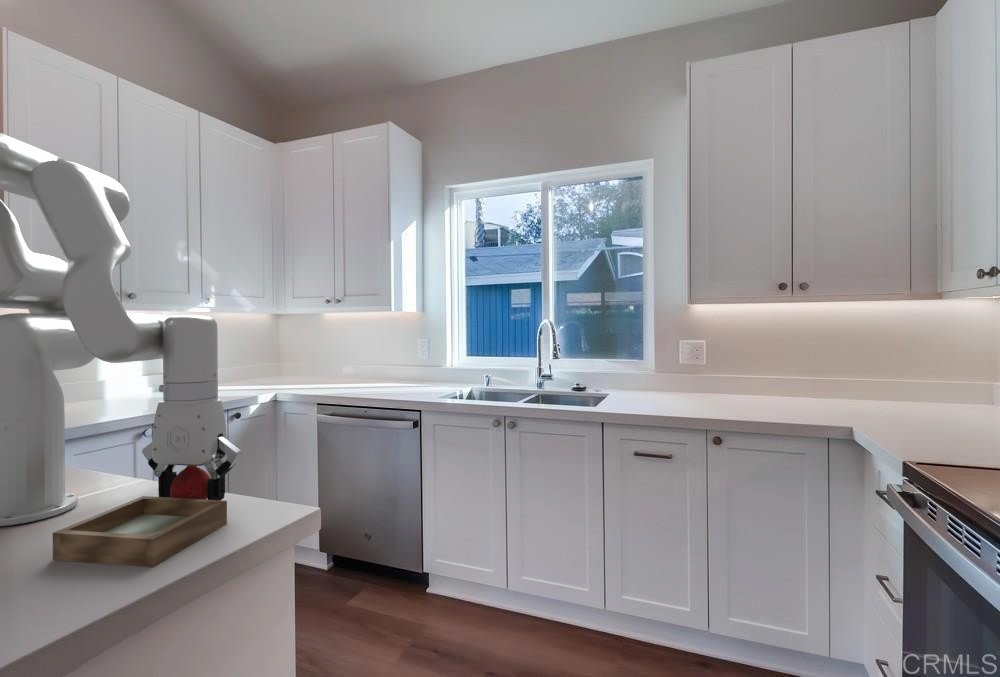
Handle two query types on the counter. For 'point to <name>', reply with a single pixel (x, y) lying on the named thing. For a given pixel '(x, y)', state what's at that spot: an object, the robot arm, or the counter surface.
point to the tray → (140, 531)
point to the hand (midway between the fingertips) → (191, 499)
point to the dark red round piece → (190, 484)
